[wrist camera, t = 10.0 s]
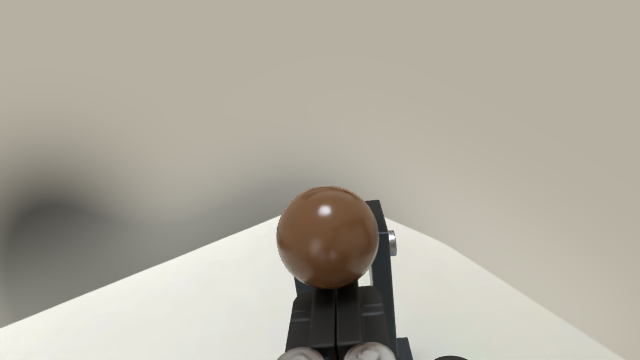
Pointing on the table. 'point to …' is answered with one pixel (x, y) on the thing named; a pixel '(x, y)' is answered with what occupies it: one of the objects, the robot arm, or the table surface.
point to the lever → (327, 237)
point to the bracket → (381, 280)
